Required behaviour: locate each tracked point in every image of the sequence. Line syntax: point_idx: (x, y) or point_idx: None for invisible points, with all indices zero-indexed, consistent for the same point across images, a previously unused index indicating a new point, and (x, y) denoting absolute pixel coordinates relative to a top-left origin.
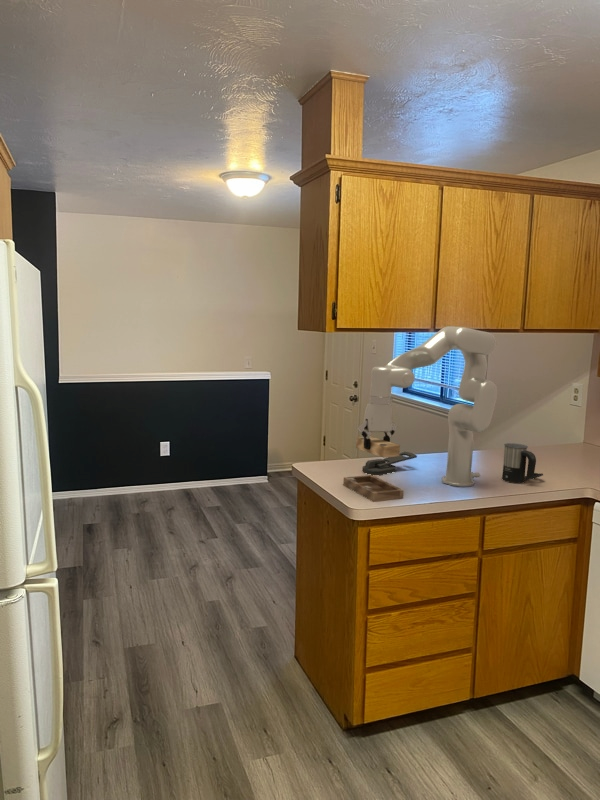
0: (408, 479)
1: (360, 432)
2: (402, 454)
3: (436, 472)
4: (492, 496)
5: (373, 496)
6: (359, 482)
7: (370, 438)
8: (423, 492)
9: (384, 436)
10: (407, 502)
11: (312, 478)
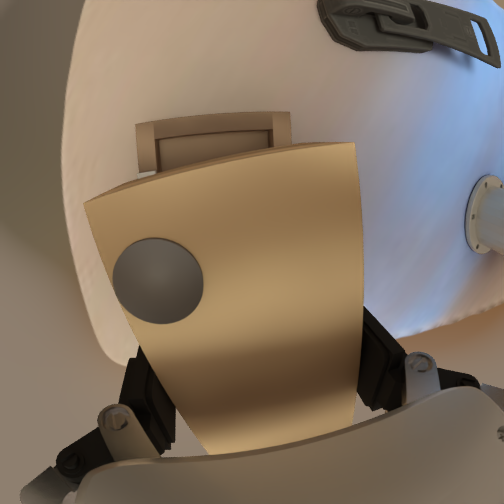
0: (420, 134)
1: (59, 463)
2: (476, 21)
3: (493, 117)
4: (462, 316)
5: None
6: (212, 133)
7: (272, 266)
8: (379, 273)
9: (397, 356)
10: None
11: (77, 35)
